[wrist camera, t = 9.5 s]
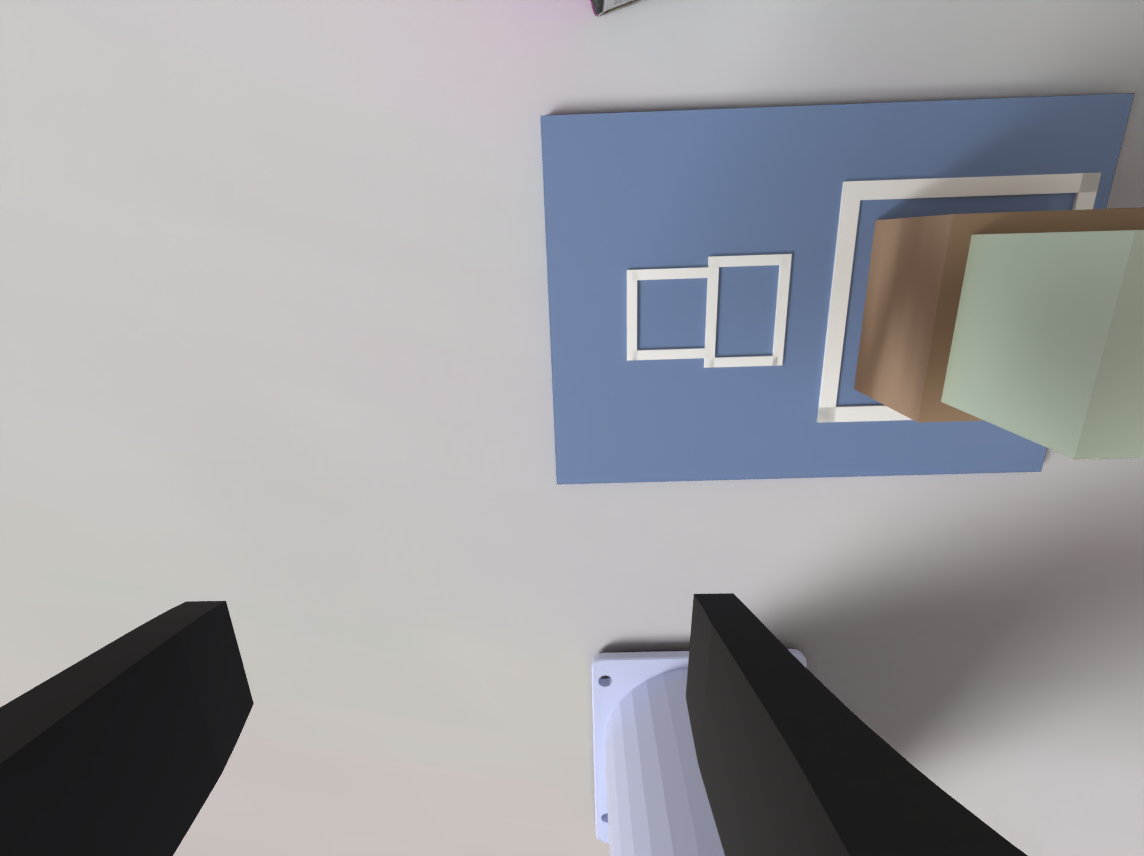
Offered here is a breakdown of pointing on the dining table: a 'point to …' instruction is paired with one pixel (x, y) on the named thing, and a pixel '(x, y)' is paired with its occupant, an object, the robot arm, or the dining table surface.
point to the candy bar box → (609, 5)
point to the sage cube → (1054, 340)
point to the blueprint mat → (774, 276)
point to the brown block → (937, 298)
